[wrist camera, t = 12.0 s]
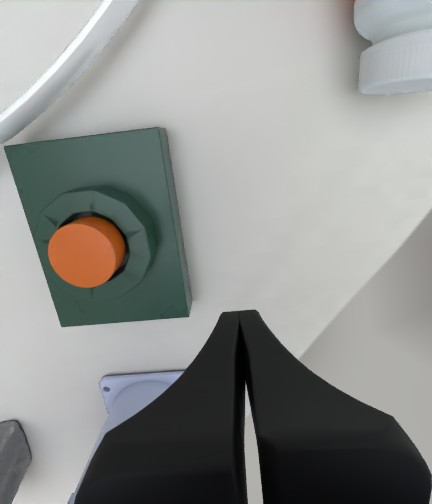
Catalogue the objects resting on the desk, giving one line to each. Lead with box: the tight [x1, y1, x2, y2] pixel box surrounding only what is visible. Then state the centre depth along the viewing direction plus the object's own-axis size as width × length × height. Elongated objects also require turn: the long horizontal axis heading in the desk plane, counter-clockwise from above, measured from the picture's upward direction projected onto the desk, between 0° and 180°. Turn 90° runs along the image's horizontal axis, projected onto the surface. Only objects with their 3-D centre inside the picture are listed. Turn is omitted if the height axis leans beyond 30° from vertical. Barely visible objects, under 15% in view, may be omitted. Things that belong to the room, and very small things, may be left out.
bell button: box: [48, 216, 126, 288], centre depth 17 cm, size 4×4×2 cm
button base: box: [4, 127, 192, 327], centre depth 20 cm, size 12×9×4 cm
